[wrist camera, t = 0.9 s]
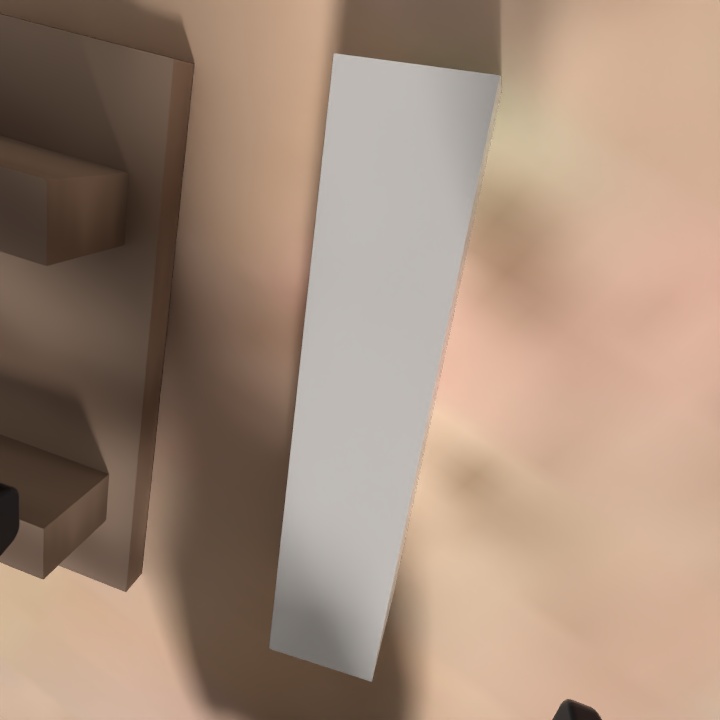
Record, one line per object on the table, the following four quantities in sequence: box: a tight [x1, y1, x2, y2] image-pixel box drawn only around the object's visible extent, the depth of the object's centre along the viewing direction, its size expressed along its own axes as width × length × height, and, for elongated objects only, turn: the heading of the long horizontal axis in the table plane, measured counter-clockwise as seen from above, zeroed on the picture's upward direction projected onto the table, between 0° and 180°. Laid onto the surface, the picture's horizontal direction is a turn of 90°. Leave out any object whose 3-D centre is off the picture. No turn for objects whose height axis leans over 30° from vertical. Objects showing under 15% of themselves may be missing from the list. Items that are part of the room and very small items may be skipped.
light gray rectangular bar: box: [269, 53, 502, 682], centre depth 15 cm, size 16×3×4 cm, turn 172°
